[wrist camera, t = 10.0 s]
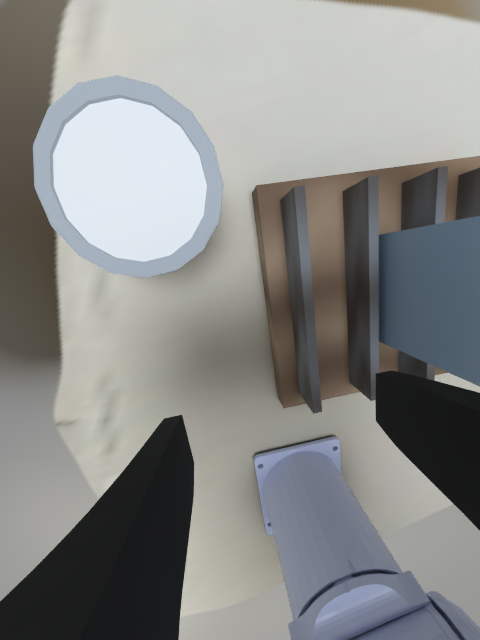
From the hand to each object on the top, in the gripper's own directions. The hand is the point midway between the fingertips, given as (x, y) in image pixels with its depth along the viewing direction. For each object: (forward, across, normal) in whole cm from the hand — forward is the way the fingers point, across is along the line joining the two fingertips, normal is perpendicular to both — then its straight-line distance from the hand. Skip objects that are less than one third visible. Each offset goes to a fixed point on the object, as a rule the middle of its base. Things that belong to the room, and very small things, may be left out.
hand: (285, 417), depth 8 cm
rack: (+10, -10, -2) cm, 14 cm away
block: (+8, -10, -2) cm, 13 cm away
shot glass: (+10, +4, -9) cm, 14 cm away
